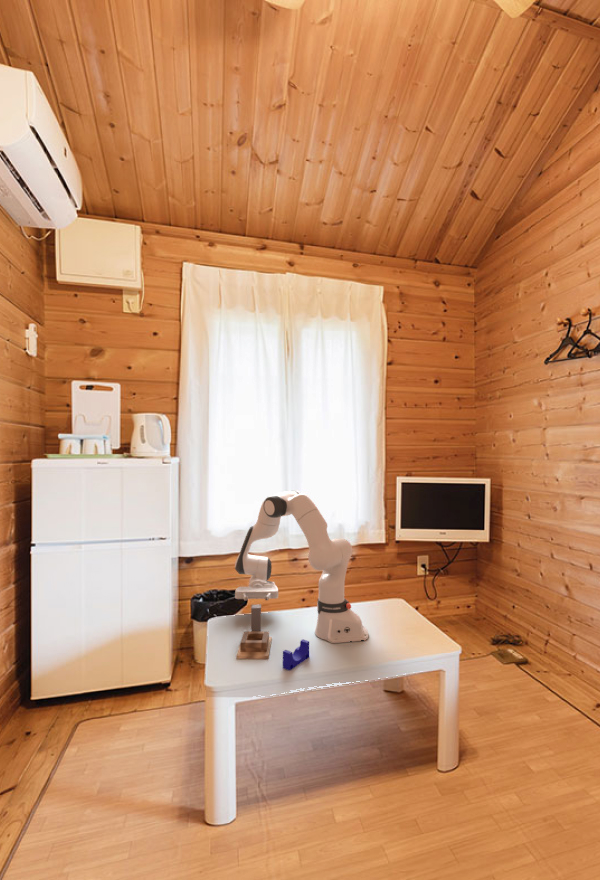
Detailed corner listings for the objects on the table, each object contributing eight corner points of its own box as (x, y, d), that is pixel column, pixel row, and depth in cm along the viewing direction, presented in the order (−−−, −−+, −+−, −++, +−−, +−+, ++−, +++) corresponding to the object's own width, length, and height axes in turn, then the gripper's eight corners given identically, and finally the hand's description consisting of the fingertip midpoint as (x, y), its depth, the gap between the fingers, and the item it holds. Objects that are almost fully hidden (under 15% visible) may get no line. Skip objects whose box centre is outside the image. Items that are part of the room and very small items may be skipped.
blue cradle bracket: (299, 654, 154) (299, 638, 154) (309, 657, 151) (309, 641, 151) (279, 667, 144) (279, 650, 144) (289, 671, 141) (289, 653, 142)
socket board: (271, 639, 166) (271, 628, 166) (268, 658, 150) (268, 646, 150) (242, 639, 166) (242, 628, 166) (236, 658, 150) (236, 646, 150)
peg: (260, 633, 172) (261, 604, 172) (260, 637, 168) (260, 607, 168) (251, 633, 171) (251, 604, 172) (251, 637, 168) (251, 608, 168)
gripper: (235, 582, 196) (233, 592, 182) (277, 581, 197) (278, 591, 183) (235, 595, 195) (233, 606, 181) (277, 595, 197) (278, 605, 183)
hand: (256, 598), depth 182 cm, fingers open, 8 cm apart
